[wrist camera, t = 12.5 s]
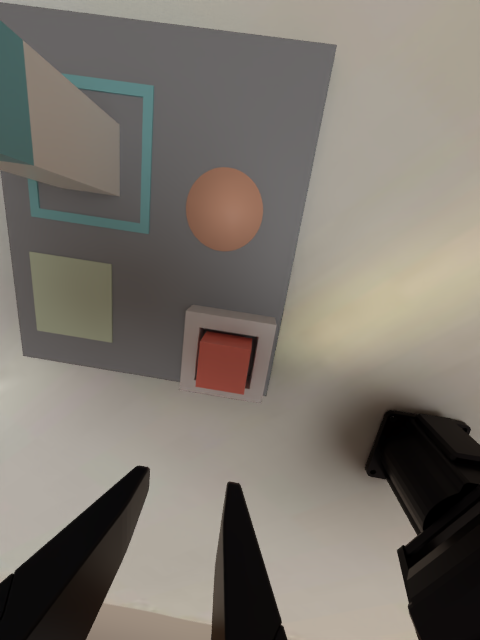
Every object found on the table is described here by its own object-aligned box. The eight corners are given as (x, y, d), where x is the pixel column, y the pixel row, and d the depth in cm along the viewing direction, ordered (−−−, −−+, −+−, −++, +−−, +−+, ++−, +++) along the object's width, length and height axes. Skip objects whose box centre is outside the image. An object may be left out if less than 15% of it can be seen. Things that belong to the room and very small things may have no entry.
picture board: (265, 390, 21) (266, 410, 18) (31, 351, 21) (1, 365, 19) (332, 56, 14) (348, 15, 12) (-6, 12, 15) (-60, -35, 12)
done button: (245, 378, 18) (243, 394, 16) (202, 371, 18) (195, 386, 16) (252, 338, 17) (251, 350, 15) (206, 331, 17) (200, 341, 15)
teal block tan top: (119, 196, 16) (-4, 152, 9) (60, 187, 16) (-112, 137, 9) (119, 124, 15) (-23, 0, 8) (55, 116, 15) (-148, -15, 8)
